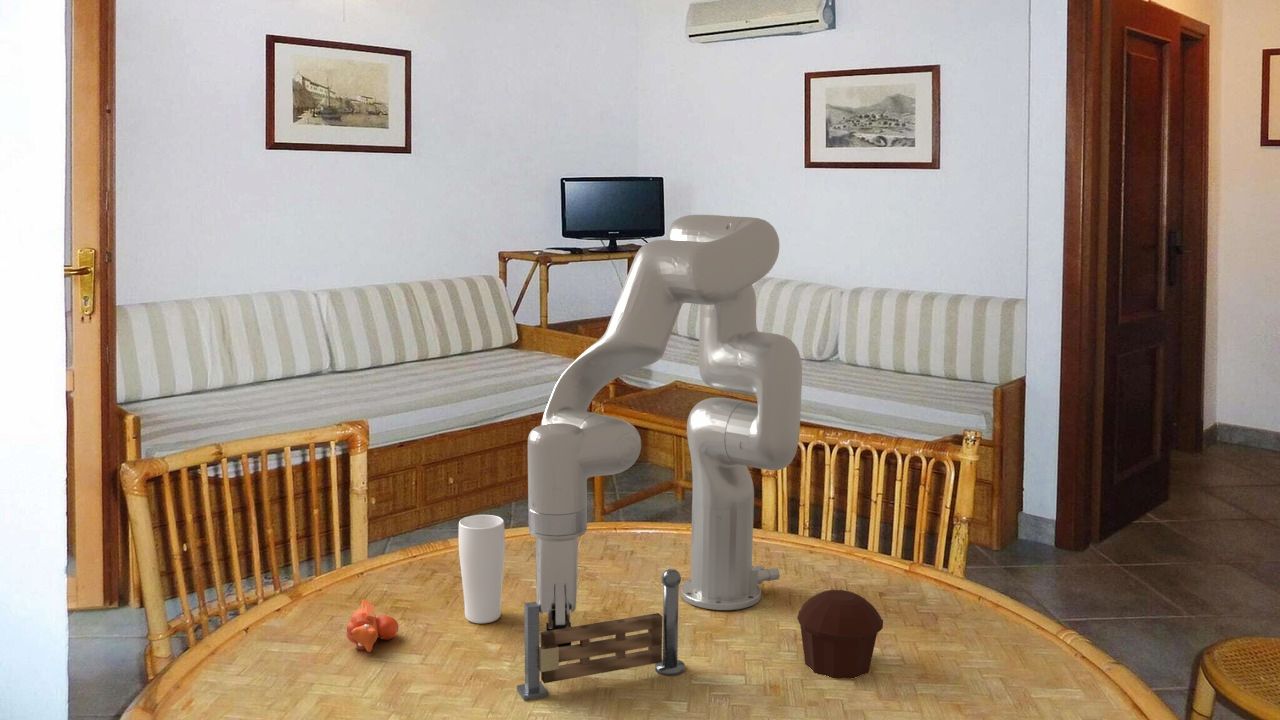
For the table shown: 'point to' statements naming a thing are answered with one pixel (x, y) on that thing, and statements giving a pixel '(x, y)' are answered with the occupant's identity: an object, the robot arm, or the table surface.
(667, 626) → the hinge post
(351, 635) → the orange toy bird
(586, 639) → the gate
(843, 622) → the muffin
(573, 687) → the table surface
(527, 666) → the post
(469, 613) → the drinking glass
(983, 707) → the table surface
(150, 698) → the table surface
